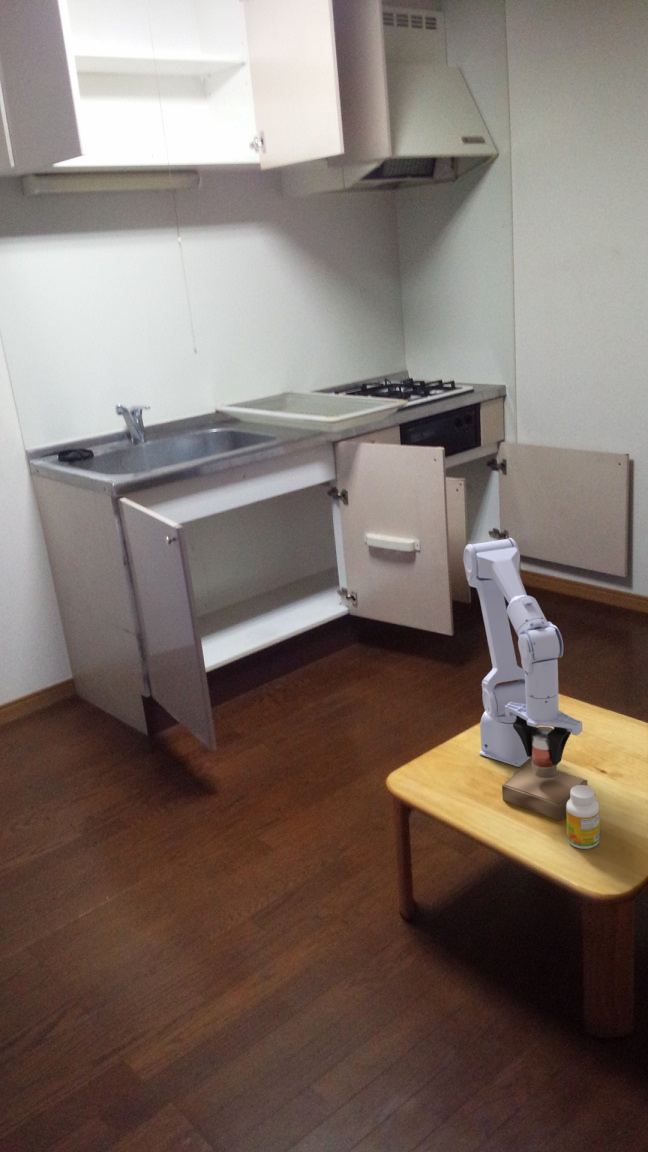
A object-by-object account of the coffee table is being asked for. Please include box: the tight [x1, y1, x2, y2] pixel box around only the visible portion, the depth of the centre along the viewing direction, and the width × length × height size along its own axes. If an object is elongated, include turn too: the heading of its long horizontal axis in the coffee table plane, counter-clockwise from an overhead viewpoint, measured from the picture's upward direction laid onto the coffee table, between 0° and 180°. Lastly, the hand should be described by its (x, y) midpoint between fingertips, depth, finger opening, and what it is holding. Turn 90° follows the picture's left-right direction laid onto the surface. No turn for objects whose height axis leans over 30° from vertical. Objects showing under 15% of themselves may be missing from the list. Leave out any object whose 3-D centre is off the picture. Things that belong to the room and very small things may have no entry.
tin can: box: [531, 726, 559, 778], centre depth 164 cm, size 5×5×8 cm
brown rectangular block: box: [501, 761, 589, 821], centre depth 166 cm, size 12×10×3 cm
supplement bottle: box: [566, 785, 601, 850], centre depth 152 cm, size 5×5×10 cm
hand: (543, 758), depth 164 cm, fingers closed on tin can, 5 cm apart
